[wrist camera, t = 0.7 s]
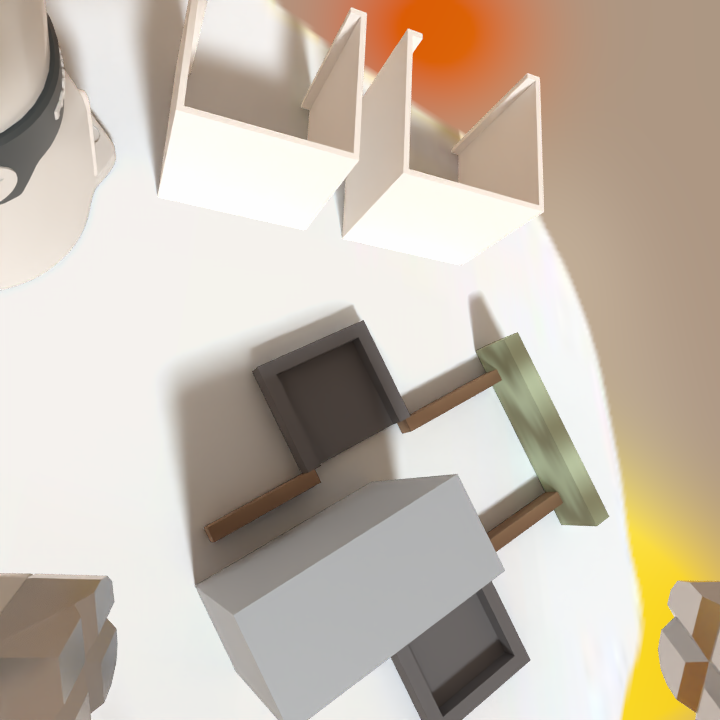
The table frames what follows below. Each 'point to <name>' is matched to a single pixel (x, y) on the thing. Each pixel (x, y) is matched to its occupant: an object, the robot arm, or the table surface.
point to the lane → (533, 427)
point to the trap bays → (340, 432)
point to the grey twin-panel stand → (359, 157)
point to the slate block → (348, 589)
